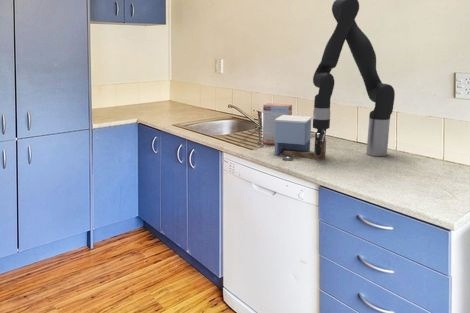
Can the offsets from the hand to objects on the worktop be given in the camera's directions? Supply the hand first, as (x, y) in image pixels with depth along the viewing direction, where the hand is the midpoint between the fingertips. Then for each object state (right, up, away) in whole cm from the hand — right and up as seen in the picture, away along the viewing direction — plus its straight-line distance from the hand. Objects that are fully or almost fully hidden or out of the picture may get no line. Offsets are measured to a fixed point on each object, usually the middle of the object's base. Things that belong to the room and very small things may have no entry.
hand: (319, 152), depth 197 cm
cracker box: (-17, +5, +29) cm, 34 cm away
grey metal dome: (-15, -3, -1) cm, 15 cm away
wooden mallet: (-7, -2, +3) cm, 8 cm away
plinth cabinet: (-11, 0, +11) cm, 15 cm away
